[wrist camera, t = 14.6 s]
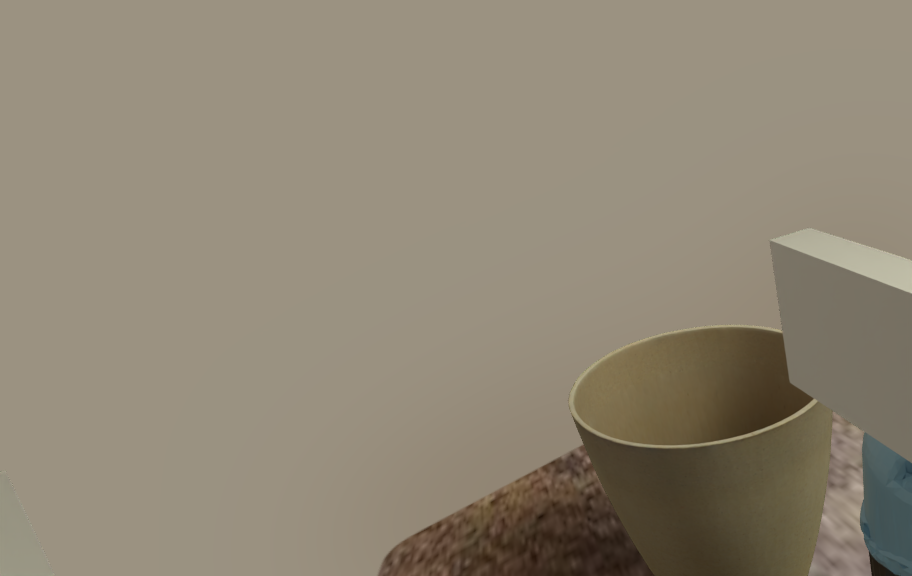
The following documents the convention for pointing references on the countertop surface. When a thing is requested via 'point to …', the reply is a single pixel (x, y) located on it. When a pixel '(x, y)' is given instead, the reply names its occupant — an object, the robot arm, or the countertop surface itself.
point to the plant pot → (708, 451)
